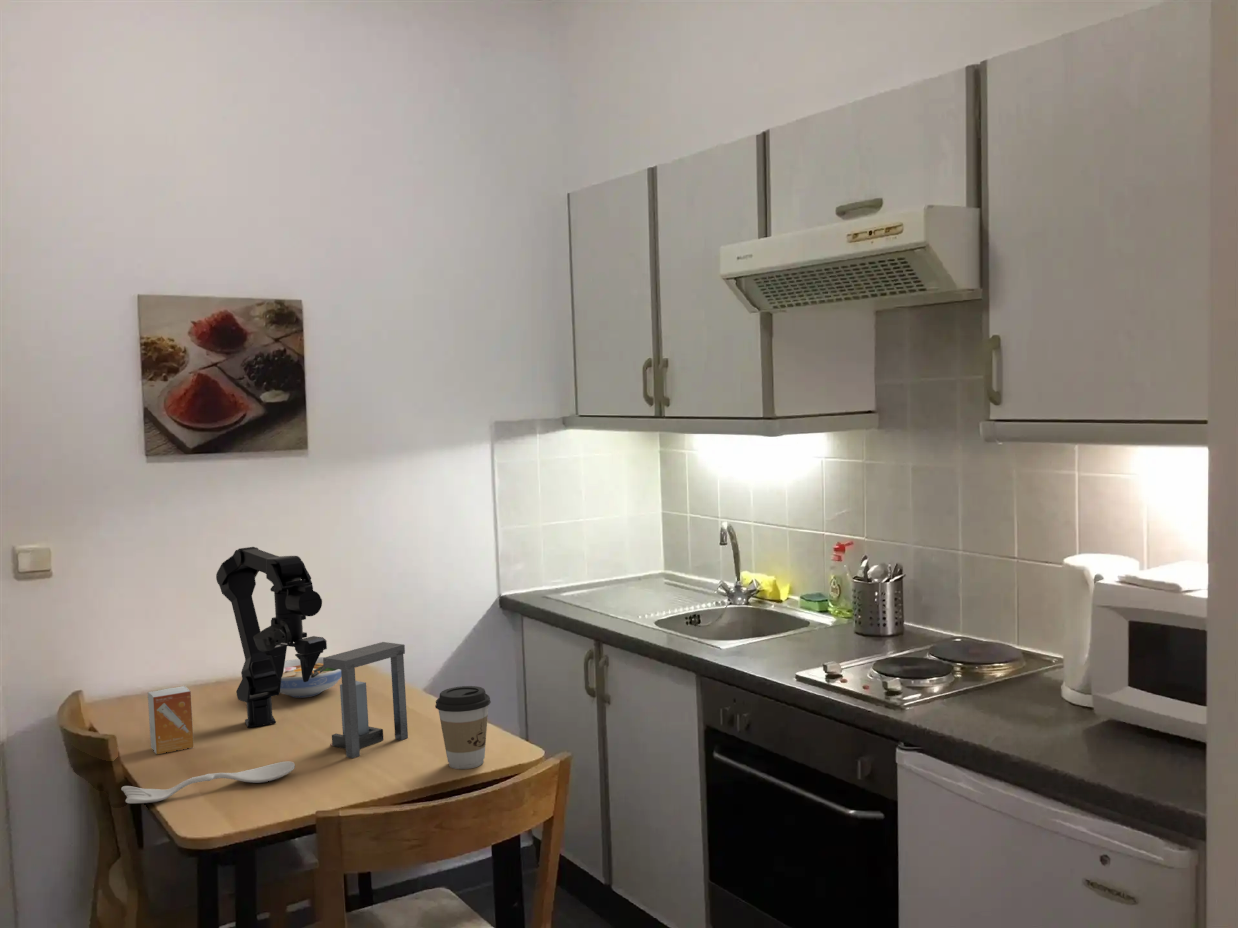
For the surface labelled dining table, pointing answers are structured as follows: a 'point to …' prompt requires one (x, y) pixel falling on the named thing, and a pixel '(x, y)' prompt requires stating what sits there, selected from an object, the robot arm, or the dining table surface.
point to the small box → (170, 719)
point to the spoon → (250, 775)
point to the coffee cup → (464, 725)
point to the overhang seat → (347, 667)
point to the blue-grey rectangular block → (358, 708)
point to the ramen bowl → (316, 683)
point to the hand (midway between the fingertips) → (292, 679)
